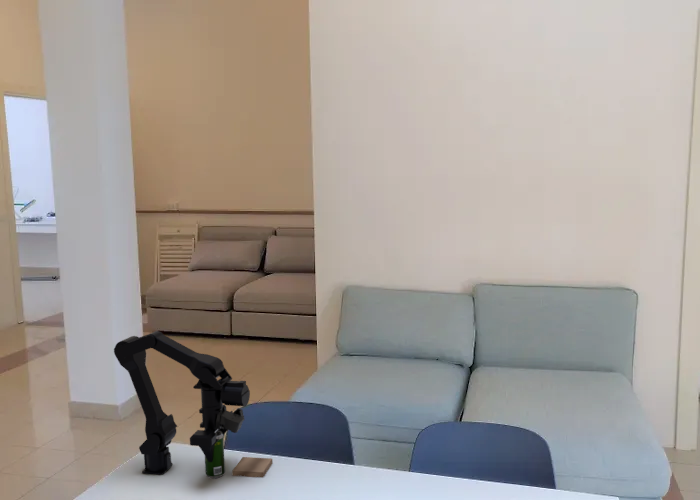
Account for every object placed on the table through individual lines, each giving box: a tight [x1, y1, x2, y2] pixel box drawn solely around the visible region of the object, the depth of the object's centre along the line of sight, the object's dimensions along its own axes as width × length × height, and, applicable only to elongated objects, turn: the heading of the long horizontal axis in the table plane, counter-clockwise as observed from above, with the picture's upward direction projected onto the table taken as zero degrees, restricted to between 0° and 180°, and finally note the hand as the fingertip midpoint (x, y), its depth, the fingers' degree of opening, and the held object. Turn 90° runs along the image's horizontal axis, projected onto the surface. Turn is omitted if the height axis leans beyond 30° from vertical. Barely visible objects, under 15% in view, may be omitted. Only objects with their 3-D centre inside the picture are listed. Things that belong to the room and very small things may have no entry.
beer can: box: [204, 430, 226, 479], centre depth 180 cm, size 5×5×12 cm
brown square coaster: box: [231, 456, 273, 478], centre depth 184 cm, size 9×9×2 cm
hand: (214, 457), depth 181 cm, fingers closed on beer can, 5 cm apart
